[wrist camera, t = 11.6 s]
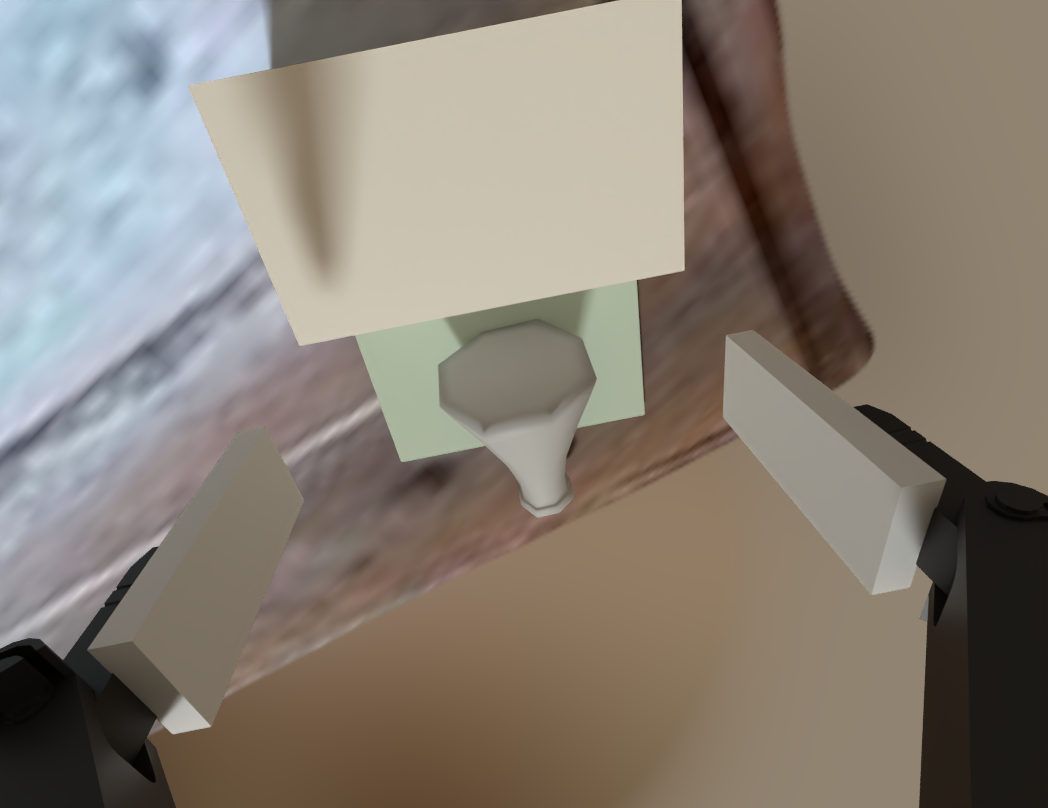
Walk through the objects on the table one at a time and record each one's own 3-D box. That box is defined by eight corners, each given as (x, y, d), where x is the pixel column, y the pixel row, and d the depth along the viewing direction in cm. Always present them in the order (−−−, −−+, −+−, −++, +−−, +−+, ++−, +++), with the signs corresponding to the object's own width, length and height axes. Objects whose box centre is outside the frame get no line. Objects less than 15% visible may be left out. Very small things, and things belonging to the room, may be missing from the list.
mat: (342, 288, 24) (339, 292, 24) (630, 231, 24) (633, 234, 24) (402, 455, 29) (401, 462, 29) (641, 409, 29) (644, 414, 29)
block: (272, 95, 20) (187, 85, 14) (617, 26, 20) (681, -13, 14) (342, 288, 24) (299, 346, 18) (630, 231, 24) (684, 270, 18)
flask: (412, 358, 24) (467, 479, 31) (468, 457, 19) (518, 574, 26) (544, 298, 26) (568, 427, 33) (627, 376, 21) (634, 508, 28)
